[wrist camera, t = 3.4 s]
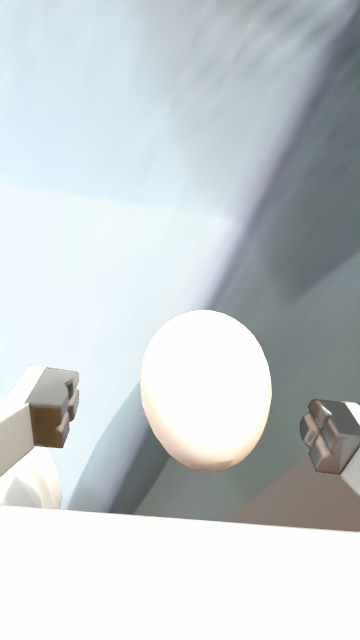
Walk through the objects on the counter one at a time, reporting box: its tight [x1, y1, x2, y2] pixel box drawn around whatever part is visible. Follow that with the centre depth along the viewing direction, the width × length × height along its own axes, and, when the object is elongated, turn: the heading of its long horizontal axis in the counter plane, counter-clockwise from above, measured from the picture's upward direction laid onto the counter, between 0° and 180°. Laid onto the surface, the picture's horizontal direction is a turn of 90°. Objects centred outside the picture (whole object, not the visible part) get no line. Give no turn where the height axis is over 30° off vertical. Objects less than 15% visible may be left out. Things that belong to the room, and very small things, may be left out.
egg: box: [140, 310, 272, 472], centre depth 11 cm, size 5×5×7 cm
